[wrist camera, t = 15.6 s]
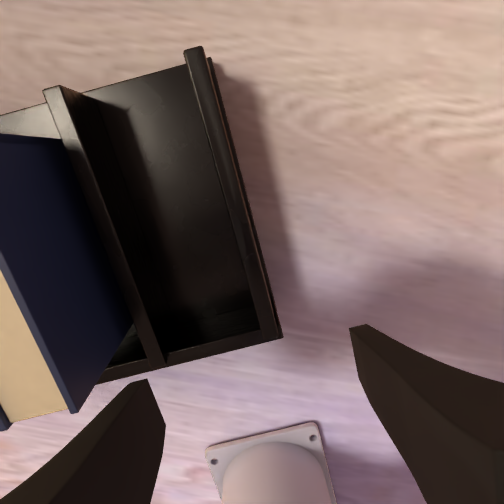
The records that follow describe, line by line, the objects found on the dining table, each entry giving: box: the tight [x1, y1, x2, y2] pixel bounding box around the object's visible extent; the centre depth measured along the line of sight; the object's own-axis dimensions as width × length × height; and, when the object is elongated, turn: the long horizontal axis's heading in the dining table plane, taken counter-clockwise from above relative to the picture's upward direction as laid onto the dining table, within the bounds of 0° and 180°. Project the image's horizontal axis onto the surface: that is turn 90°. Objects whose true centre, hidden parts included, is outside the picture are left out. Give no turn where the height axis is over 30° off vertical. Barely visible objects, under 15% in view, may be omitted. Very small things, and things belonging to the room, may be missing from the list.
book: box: [0, 133, 133, 431], centre depth 15 cm, size 10×3×8 cm, turn 14°
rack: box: [0, 46, 283, 385], centre depth 18 cm, size 14×19×4 cm
